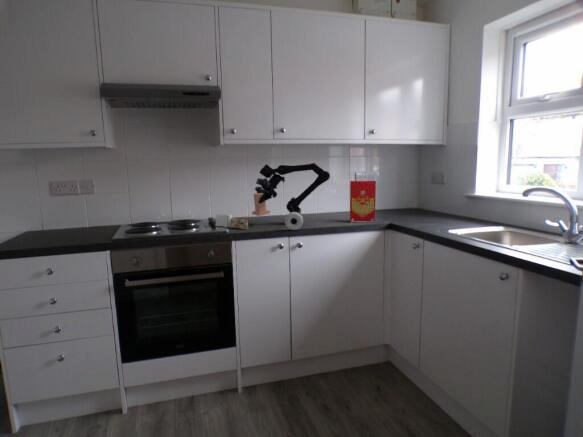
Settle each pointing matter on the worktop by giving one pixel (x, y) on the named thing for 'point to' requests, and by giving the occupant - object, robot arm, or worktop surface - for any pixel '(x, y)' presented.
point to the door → (239, 223)
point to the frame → (223, 220)
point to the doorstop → (259, 205)
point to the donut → (291, 216)
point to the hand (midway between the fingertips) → (256, 202)
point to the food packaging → (362, 200)
